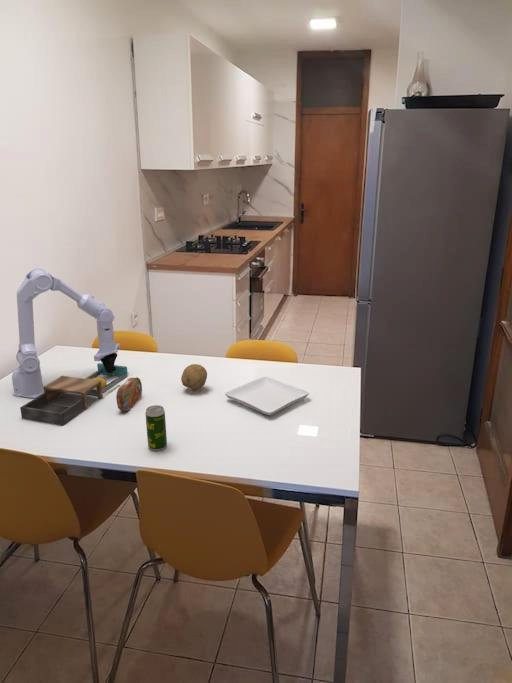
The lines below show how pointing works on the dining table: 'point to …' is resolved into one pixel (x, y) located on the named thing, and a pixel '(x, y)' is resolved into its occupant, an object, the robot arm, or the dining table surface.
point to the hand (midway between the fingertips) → (109, 372)
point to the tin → (129, 394)
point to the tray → (55, 413)
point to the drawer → (117, 371)
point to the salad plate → (266, 395)
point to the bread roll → (101, 381)
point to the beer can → (156, 428)
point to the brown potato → (194, 377)
